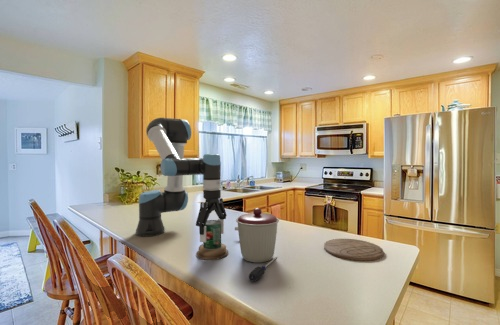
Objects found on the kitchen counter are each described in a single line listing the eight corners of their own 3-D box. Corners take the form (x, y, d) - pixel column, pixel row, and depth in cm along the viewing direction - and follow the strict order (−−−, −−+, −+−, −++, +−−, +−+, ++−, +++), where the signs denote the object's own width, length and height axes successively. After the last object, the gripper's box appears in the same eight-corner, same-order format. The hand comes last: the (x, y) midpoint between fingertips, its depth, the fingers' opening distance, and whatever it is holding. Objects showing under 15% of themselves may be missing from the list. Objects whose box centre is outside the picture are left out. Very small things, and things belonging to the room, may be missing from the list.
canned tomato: (224, 245, 119) (224, 220, 119) (216, 251, 112) (216, 225, 111) (208, 243, 122) (208, 219, 122) (199, 248, 114) (199, 223, 114)
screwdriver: (272, 257, 113) (272, 248, 113) (280, 258, 112) (280, 249, 112) (247, 284, 89) (246, 273, 89) (257, 286, 88) (256, 274, 88)
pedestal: (189, 256, 114) (189, 249, 114) (208, 246, 126) (208, 240, 126) (217, 262, 108) (217, 254, 107) (234, 251, 120) (234, 244, 120)
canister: (281, 252, 119) (281, 205, 118) (276, 268, 101) (276, 213, 100) (241, 249, 122) (241, 203, 122) (230, 265, 105) (230, 211, 104)
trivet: (313, 246, 127) (313, 242, 127) (353, 239, 137) (353, 236, 137) (350, 266, 104) (350, 261, 104) (396, 256, 113) (396, 252, 113)
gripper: (201, 193, 103) (202, 247, 104) (233, 186, 126) (233, 231, 126) (186, 192, 107) (187, 244, 107) (220, 185, 129) (220, 229, 130)
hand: (212, 237), depth 117 cm, fingers open, 13 cm apart
